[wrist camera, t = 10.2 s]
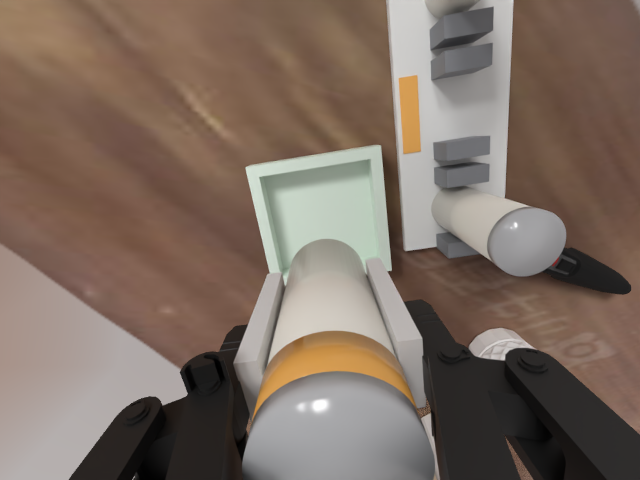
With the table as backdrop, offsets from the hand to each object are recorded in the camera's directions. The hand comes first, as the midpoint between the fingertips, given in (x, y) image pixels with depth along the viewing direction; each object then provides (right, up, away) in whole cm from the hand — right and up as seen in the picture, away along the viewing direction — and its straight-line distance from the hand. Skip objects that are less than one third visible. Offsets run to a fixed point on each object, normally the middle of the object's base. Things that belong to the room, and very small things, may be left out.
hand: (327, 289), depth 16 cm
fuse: (+13, +6, +14) cm, 20 cm away
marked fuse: (0, +1, +2) cm, 2 cm away
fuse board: (+12, +15, +12) cm, 22 cm away
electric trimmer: (+24, +1, +16) cm, 29 cm away
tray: (0, +5, +15) cm, 16 cm away
